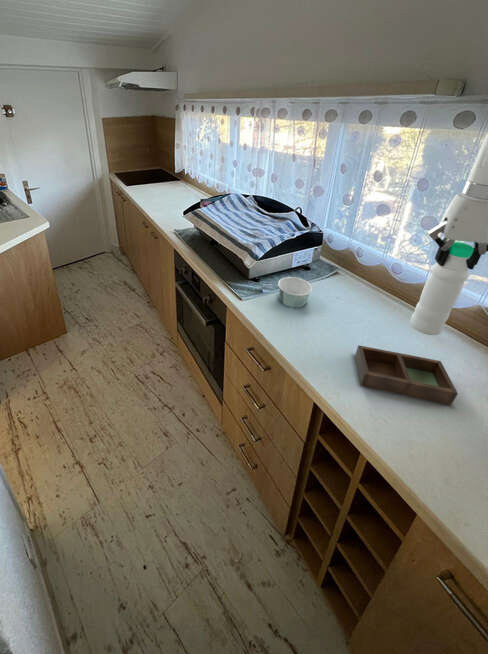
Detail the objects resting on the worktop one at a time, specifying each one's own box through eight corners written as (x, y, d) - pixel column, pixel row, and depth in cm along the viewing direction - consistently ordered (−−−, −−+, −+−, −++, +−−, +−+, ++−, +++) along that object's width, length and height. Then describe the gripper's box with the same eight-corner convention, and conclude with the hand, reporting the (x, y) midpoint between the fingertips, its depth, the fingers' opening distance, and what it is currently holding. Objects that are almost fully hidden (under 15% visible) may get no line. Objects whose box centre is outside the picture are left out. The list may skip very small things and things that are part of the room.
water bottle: (434, 321, 85) (471, 240, 73) (445, 338, 79) (488, 253, 67) (405, 317, 87) (437, 237, 75) (415, 334, 81) (451, 250, 69)
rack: (434, 372, 85) (440, 360, 82) (450, 405, 76) (458, 393, 73) (354, 356, 90) (358, 345, 88) (360, 385, 81) (365, 373, 79)
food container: (292, 313, 108) (295, 298, 104) (269, 296, 117) (271, 282, 114) (316, 303, 113) (319, 288, 110) (291, 287, 122) (294, 273, 119)
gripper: (526, 189, 66) (489, 262, 74) (433, 184, 71) (408, 253, 79) (549, 199, 59) (506, 278, 68) (445, 193, 64) (417, 267, 73)
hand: (453, 264), depth 74 cm, fingers closed on water bottle, 5 cm apart
